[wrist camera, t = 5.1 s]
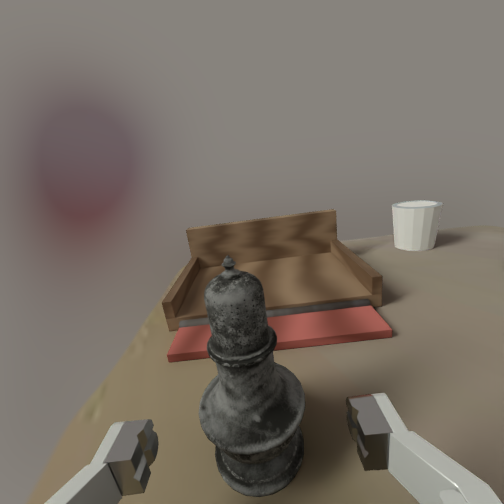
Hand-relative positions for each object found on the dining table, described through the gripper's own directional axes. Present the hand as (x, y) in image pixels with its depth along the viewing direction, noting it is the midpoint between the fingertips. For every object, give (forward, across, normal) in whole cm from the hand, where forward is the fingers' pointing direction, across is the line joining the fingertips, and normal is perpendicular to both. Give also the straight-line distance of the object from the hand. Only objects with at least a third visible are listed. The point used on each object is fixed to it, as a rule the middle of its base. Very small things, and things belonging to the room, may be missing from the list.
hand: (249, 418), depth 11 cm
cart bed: (+22, -2, +6) cm, 22 cm away
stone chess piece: (+3, 0, +6) cm, 7 cm away
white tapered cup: (+33, -27, +6) cm, 43 cm away
